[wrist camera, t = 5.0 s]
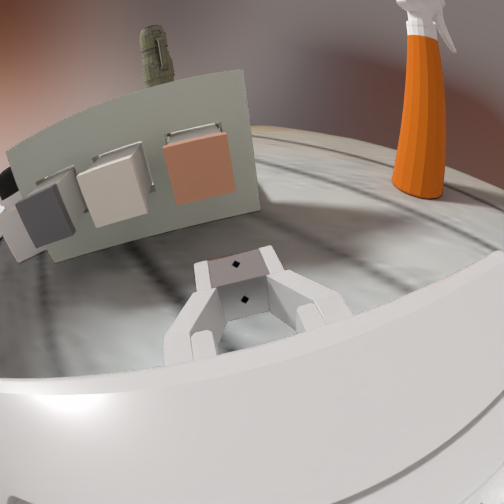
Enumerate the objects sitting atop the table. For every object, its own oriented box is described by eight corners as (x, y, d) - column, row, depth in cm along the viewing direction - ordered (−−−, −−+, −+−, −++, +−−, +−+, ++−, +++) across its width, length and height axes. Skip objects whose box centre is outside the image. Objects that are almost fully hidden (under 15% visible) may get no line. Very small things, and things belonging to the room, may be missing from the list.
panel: (54, 263, 25) (5, 151, 16) (74, 227, 31) (39, 133, 23) (260, 210, 27) (242, 69, 19) (244, 182, 34) (228, 72, 25)
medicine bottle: (64, 222, 33) (36, 150, 26) (55, 246, 28) (19, 162, 21) (29, 239, 31) (0, 172, 24) (17, 264, 26) (-20, 188, 19)
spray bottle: (465, 190, 27) (469, 4, 11) (420, 204, 25) (417, -30, 9) (429, 170, 33) (428, 3, 17) (380, 179, 31) (371, -21, 15)
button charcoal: (36, 248, 18) (14, 204, 16) (66, 205, 25) (52, 169, 23) (73, 235, 19) (52, 186, 16) (98, 193, 26) (85, 155, 23)
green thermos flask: (168, 138, 67) (146, 22, 46) (149, 137, 74) (129, 35, 53) (193, 129, 72) (175, 20, 50) (172, 129, 79) (155, 31, 57)
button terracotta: (177, 205, 20) (162, 148, 17) (178, 170, 27) (169, 129, 24) (236, 191, 20) (226, 133, 18) (221, 160, 27) (214, 118, 25)
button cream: (96, 228, 19) (76, 176, 16) (117, 187, 26) (105, 148, 23) (147, 213, 20) (130, 157, 17) (156, 175, 27) (146, 135, 24)
